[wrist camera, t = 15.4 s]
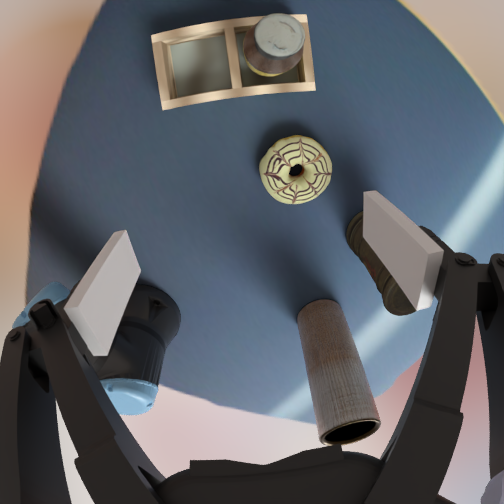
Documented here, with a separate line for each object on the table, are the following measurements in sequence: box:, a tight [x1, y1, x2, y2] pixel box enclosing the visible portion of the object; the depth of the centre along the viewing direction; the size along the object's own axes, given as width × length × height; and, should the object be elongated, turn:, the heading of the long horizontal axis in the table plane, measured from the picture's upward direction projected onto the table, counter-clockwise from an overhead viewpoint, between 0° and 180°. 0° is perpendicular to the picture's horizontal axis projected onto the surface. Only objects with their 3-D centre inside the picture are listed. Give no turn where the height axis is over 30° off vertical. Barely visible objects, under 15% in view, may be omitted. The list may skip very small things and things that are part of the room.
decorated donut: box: [259, 135, 332, 204], centre depth 44 cm, size 10×11×4 cm
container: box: [346, 211, 416, 316], centre depth 44 cm, size 9×9×18 cm
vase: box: [297, 299, 381, 446], centre depth 50 cm, size 10×10×28 cm
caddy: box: [151, 15, 316, 110], centre depth 34 cm, size 20×11×6 cm, turn 97°
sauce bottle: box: [243, 13, 305, 77], centre depth 27 cm, size 6×6×20 cm
